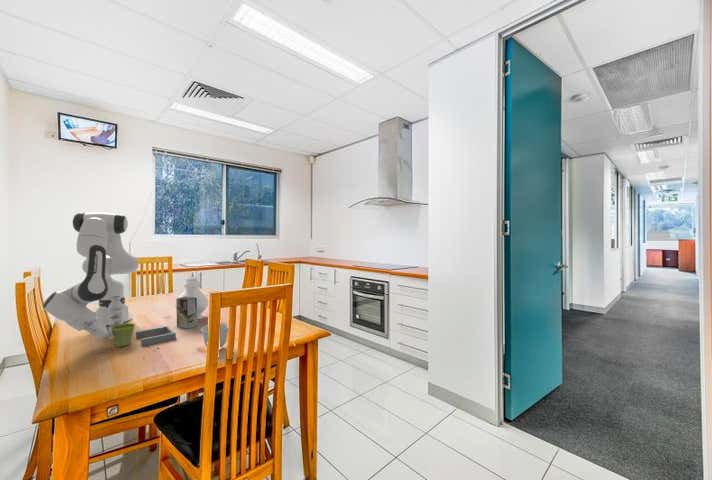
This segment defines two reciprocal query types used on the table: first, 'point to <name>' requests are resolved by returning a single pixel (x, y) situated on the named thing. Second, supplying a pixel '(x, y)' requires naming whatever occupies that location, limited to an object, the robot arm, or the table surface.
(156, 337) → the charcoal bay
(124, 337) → the plant pot
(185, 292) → the decorative vase
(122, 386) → the table surface
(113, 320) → the plastic bottle
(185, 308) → the coffee box
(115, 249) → the robot arm
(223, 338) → the teacup
